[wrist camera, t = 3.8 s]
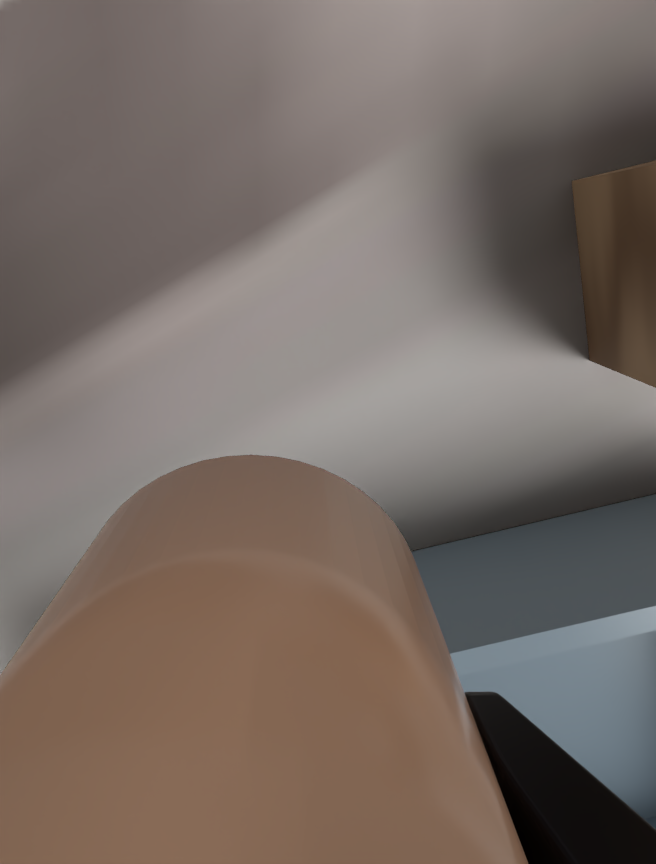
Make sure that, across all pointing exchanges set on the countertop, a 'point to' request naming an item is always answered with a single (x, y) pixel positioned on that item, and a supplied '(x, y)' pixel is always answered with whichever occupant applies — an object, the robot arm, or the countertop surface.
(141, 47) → the countertop surface
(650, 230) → the walnut cube
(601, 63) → the countertop surface
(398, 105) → the countertop surface
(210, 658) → the terracotta cylinder
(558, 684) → the slate tote
